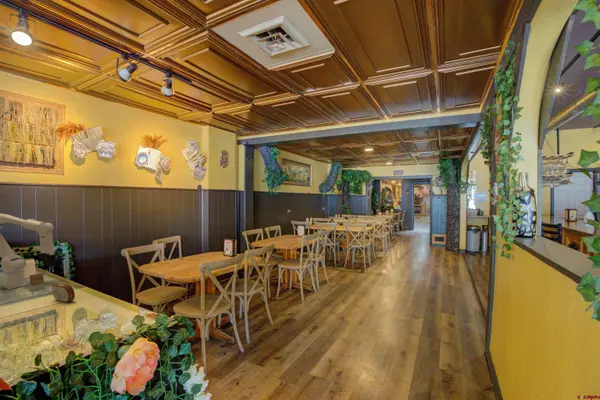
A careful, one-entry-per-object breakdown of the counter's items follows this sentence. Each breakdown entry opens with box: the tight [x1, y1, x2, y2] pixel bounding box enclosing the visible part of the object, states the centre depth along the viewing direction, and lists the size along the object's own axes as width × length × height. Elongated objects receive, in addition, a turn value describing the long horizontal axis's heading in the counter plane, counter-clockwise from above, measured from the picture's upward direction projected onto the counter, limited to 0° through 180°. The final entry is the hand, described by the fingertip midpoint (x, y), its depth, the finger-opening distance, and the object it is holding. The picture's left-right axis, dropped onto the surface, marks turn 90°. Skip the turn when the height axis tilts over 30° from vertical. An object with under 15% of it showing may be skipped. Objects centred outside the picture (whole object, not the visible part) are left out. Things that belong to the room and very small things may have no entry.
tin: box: [51, 282, 76, 303], centre depth 136 cm, size 15×3×8 cm, turn 65°
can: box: [23, 257, 37, 280], centre depth 181 cm, size 6×6×12 cm
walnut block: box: [29, 272, 45, 286], centre depth 157 cm, size 4×4×6 cm
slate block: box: [30, 283, 46, 292], centre depth 157 cm, size 5×5×3 cm
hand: (48, 265), depth 167 cm, fingers open, 7 cm apart
